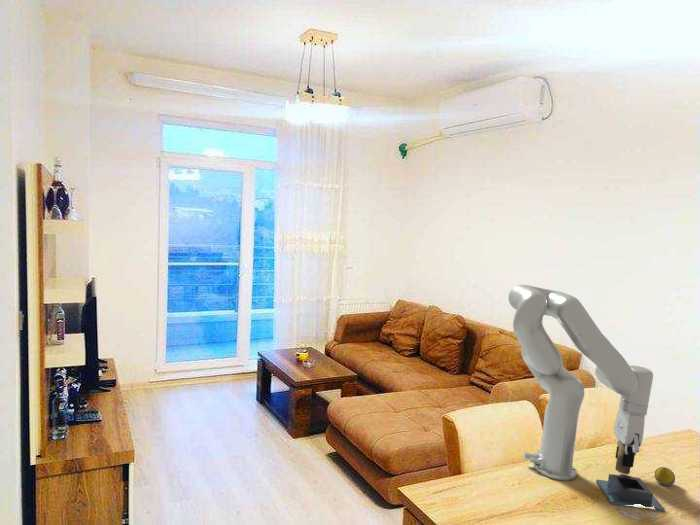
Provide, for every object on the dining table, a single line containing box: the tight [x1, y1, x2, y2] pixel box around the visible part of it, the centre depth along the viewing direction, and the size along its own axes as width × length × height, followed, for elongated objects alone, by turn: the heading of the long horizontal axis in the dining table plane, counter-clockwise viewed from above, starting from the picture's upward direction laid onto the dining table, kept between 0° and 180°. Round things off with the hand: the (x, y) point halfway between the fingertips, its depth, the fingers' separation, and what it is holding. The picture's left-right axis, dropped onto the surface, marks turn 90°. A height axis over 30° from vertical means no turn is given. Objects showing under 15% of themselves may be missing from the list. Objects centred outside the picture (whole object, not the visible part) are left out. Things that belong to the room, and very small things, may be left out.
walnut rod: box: [614, 441, 633, 475], centre depth 158 cm, size 4×4×10 cm
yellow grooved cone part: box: [654, 466, 676, 487], centre depth 154 cm, size 5×5×10 cm
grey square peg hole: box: [595, 473, 665, 512], centre depth 146 cm, size 14×12×4 cm
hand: (623, 462), depth 158 cm, fingers closed on walnut rod, 4 cm apart
